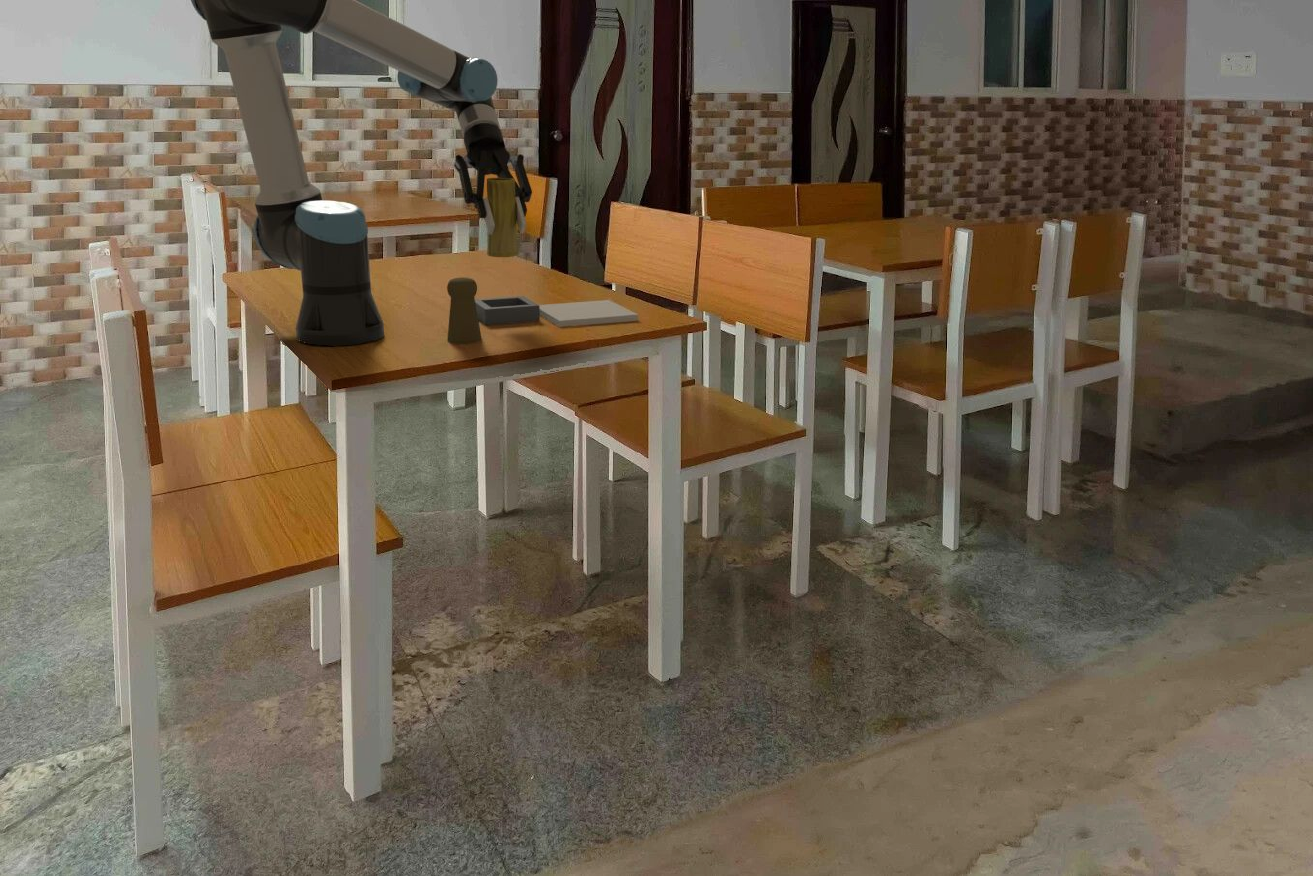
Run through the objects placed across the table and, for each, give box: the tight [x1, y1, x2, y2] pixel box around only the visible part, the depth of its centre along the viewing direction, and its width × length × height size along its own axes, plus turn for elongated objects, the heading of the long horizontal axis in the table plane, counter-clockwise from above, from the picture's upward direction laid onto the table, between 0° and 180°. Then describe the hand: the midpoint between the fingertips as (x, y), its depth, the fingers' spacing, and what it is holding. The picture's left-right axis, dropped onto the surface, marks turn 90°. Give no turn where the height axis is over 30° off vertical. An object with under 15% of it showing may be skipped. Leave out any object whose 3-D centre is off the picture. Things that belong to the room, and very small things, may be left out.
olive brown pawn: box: [446, 276, 483, 345], centre depth 195 cm, size 6×6×11 cm
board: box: [538, 299, 639, 328], centre depth 218 cm, size 16×16×1 cm
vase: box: [486, 177, 520, 258], centre depth 210 cm, size 6×6×14 cm
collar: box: [475, 295, 541, 326], centre depth 215 cm, size 11×11×3 cm
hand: (507, 229), depth 207 cm, fingers closed on vase, 5 cm apart
